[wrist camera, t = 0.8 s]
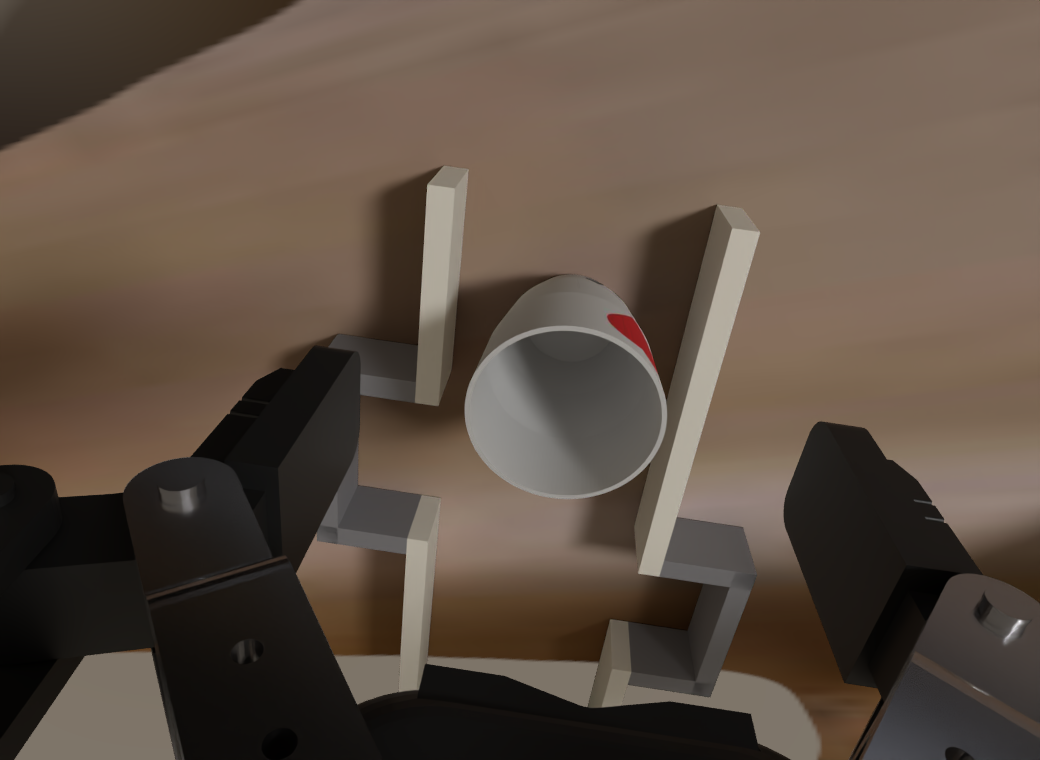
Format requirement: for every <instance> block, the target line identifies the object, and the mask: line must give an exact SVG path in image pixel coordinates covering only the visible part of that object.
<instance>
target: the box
mask: <svg viewBox="0 0 1040 760" xmlns="http://www.w3.org/2000/svg"><path fill="white" fill-rule="evenodd" d="M468 171H469V169H464V168H457V167H450V166H443V167H442V168H441V170H440V171H439V172H438V173H437V174H436V175H435V176H434V178H433V179H432V180H431V181H430V182H429V183H428V184H427V199H426V217H425V234H424V252H423V269H422V287H421V304H420V322H419V339H418V345H411V344H404V343H397V342H390V341H384V340H377V339H370V338H363V337H356V336H350V335H343V334H338V335H337V336H336V337H335V339H334V340H333V341H332V343H331V344H330V345H329V347H330V348H337V349H344V350H350V351H357V352H358V353H359V355H360V362H361V376H360V395H365V396H372V397H379V398H385V399H392V400H399V401H406V402H412V403H419V404H426V405H433V406H439V403H440V400H441V398H442V395H443V392H444V390H445V387H446V384H447V381H448V379H449V376H450V373H451V371H452V361H453V349H454V337H455V325H456V313H457V301H458V289H459V278H460V266H461V254H462V242H463V230H464V218H465V206H466V195H467V183H468ZM759 235H760V231H759V230H758V229H757V227H756V226H755V225H754V223H753V222H752V221H751V219H750V218H749V217H748V215H747V214H746V213H745V211H744V210H743V209H742V208H738V207H731V206H724V205H717V207H716V211H715V214H714V218H713V222H712V226H711V230H710V234H709V238H708V242H707V246H706V249H705V253H704V257H703V261H702V265H701V269H700V273H699V277H698V280H697V284H696V288H695V292H694V296H693V300H692V304H691V308H690V312H689V315H688V319H687V323H686V327H685V331H684V335H683V339H682V343H681V346H680V350H679V354H678V358H677V362H676V366H675V370H674V374H673V377H672V381H671V385H670V389H669V393H668V397H667V401H666V405H667V424H666V430H665V434H664V437H663V440H662V443H661V445H660V447H659V449H658V451H657V453H656V454H655V456H654V458H653V459H652V460H651V463H650V467H649V471H648V475H647V478H646V482H645V486H644V490H643V494H642V498H641V502H640V506H639V509H638V513H637V517H636V521H635V525H634V533H635V544H636V555H637V566H638V574H645V575H652V576H658V577H665V578H671V579H678V580H685V581H691V582H698V583H703V586H702V589H701V592H700V595H699V598H698V601H697V604H696V607H695V610H694V613H693V616H692V619H691V622H690V625H689V628H688V631H685V630H679V629H672V628H666V627H659V626H653V625H646V624H639V623H633V622H626V621H620V620H613V619H610V622H609V626H608V630H607V634H606V638H605V641H604V645H603V649H602V653H601V657H600V661H599V665H598V669H597V672H596V676H595V680H594V684H593V688H592V692H591V696H590V700H589V704H588V708H600V707H612V706H622V702H623V699H624V695H625V692H626V688H627V685H633V686H639V687H646V688H652V689H659V690H665V691H672V692H679V693H685V694H691V695H699V696H704V697H710V696H711V694H712V691H713V689H714V686H715V683H716V681H717V678H718V675H719V673H720V670H721V668H722V665H723V663H724V660H725V657H726V655H727V652H728V649H729V647H730V644H731V642H732V639H733V636H734V634H735V631H736V629H737V626H738V623H739V621H740V618H741V616H742V613H743V610H744V608H745V605H746V603H747V600H748V597H749V595H750V592H751V589H752V587H753V584H754V582H755V579H756V576H757V573H756V569H755V566H754V563H753V559H752V556H751V553H750V549H749V546H748V543H747V539H746V536H745V533H744V529H743V527H736V526H730V525H723V524H716V523H710V522H703V521H696V520H690V519H683V518H677V515H678V511H679V508H680V504H681V501H682V498H683V494H684V491H685V487H686V484H687V480H688V477H689V474H690V470H691V467H692V463H693V460H694V457H695V453H696V450H697V446H698V443H699V439H700V436H701V433H702V429H703V426H704V422H705V419H706V416H707V412H708V409H709V405H710V402H711V399H712V395H713V392H714V388H715V385H716V381H717V378H718V375H719V371H720V368H721V364H722V361H723V358H724V354H725V351H726V347H727V344H728V341H729V337H730V334H731V330H732V327H733V323H734V320H735V317H736V313H737V310H738V306H739V303H740V300H741V296H742V293H743V289H744V286H745V283H746V279H747V276H748V272H749V269H750V265H751V262H752V259H753V255H754V252H755V248H756V245H757V242H758V238H759ZM440 503H441V498H438V497H431V496H425V495H418V494H411V493H405V492H398V491H391V490H385V489H378V488H371V487H365V486H358V444H357V448H356V452H355V455H354V458H353V461H352V463H351V465H350V467H349V469H348V471H347V473H346V475H345V477H344V479H343V481H342V483H341V485H340V487H339V489H338V491H337V493H336V495H335V497H334V499H333V501H332V503H331V505H330V507H329V509H328V511H327V513H326V515H325V517H324V519H323V521H322V522H321V524H320V526H319V528H318V530H317V541H321V542H328V543H334V544H341V545H348V546H354V547H361V548H367V549H374V550H381V551H387V552H394V553H400V554H406V567H405V585H404V602H403V620H402V637H401V655H400V672H399V673H400V674H399V690H398V692H402V691H410V690H419V687H420V683H421V679H422V675H423V670H424V666H425V664H427V657H428V645H429V634H430V622H431V610H432V598H433V586H434V574H435V562H436V551H437V539H438V527H439V515H440Z"/></svg>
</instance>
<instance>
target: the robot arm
mask: <svg viewBox="0 0 1040 760" xmlns="http://www.w3.org/2000/svg"><path fill="white" fill-rule="evenodd" d="M360 376H361V362H360V355H359V353H358V352H357V351H350V350H344V349H337V348H330V347H324V346H314V347H313V348H312V349H311V350H310V351H309V353H308V354H307V355H306V357H305V358H304V359H303V360H302V362H301V363H300V364H299V365H298V367H297V368H296V369H295V370H290V369H284V368H280V369H278V370H276V371H274V372H272V373H270V374H268V375H266V376H264V377H262V378H260V379H258V380H257V381H256V382H255V383H254V384H253V385H252V386H251V387H250V389H249V390H248V391H247V392H246V393H245V394H244V396H243V397H242V401H240V400H239V401H238V402H237V404H236V405H235V406H234V407H233V408H232V409H231V411H230V414H227V415H226V416H225V418H224V419H223V420H222V421H221V422H220V423H219V424H218V426H217V427H216V428H215V429H214V430H213V431H212V433H211V434H210V435H209V436H208V437H207V438H206V440H205V441H204V442H203V443H202V444H201V445H200V447H199V448H198V449H197V450H196V451H195V452H194V453H193V455H192V456H191V457H186V458H178V459H172V460H168V461H164V462H161V463H158V464H155V465H153V466H151V467H149V468H147V469H145V470H143V471H142V472H140V473H138V474H137V475H136V476H135V477H134V478H132V479H131V481H130V482H129V483H128V484H127V486H126V488H125V489H124V492H123V493H116V494H104V495H88V496H73V497H58V494H57V490H56V486H55V482H54V480H53V478H52V476H51V475H49V474H48V473H47V472H45V471H43V470H42V469H39V468H36V467H32V466H26V465H1V466H0V760H14V759H15V757H16V756H17V754H18V753H19V752H20V750H21V749H22V747H23V746H24V744H25V743H26V741H27V740H28V738H29V737H30V735H31V734H32V732H33V731H34V730H35V728H36V727H37V725H38V724H39V722H40V721H41V719H42V718H43V716H44V715H45V714H46V712H47V711H48V709H49V707H50V706H51V705H52V703H53V702H54V700H55V699H56V697H57V696H58V694H59V693H60V692H61V690H62V689H63V687H64V686H65V684H66V683H67V681H68V680H69V678H70V677H71V675H72V674H73V672H74V671H75V669H76V668H77V667H78V665H79V664H80V662H81V661H82V659H83V658H84V656H86V655H95V654H103V653H111V652H120V651H128V650H136V649H144V648H151V652H152V656H153V661H154V665H155V670H156V674H157V679H158V683H159V688H160V692H161V697H162V701H163V706H164V710H165V715H166V719H167V724H168V728H169V733H170V737H171V742H172V746H173V751H174V755H175V760H790V759H788V758H787V757H785V756H783V755H781V754H779V753H777V752H775V751H773V750H771V749H769V748H767V747H765V746H763V745H760V744H758V743H757V739H756V734H755V730H754V726H753V722H752V717H751V714H748V713H742V712H735V711H729V710H722V709H716V708H709V707H703V706H696V705H690V704H683V703H676V702H660V703H648V704H636V705H624V706H612V707H600V708H588V707H583V706H580V705H577V704H575V703H572V702H569V701H567V700H564V699H562V698H559V697H557V696H554V695H552V694H549V693H546V692H544V691H541V690H539V689H536V688H534V687H531V686H529V685H526V684H524V683H521V682H518V681H516V680H513V679H511V678H508V677H506V676H501V675H495V674H488V673H482V672H475V671H468V670H462V669H456V668H449V667H442V666H436V665H429V664H425V666H424V670H423V675H422V679H421V683H420V687H419V690H410V691H402V692H397V693H392V694H388V695H383V696H380V697H377V698H374V699H371V700H368V701H365V702H363V703H360V704H358V705H357V703H356V701H355V699H354V697H353V695H352V693H351V691H350V688H349V686H348V684H347V682H346V680H345V678H344V676H343V673H342V671H341V669H340V667H339V665H338V663H337V661H336V659H335V656H334V654H333V652H332V650H331V648H330V646H329V643H328V641H327V639H326V637H325V635H324V633H323V631H322V628H321V626H320V624H319V622H318V620H317V618H316V616H315V614H314V611H313V609H312V607H311V605H310V603H309V601H308V599H307V596H306V594H305V592H304V590H303V588H302V586H301V584H300V581H299V579H298V577H297V575H296V572H297V570H298V568H299V566H300V564H301V562H302V560H303V558H304V556H305V554H306V552H307V550H308V548H309V546H310V544H311V542H312V540H313V538H314V536H315V534H316V532H317V530H318V528H319V526H320V524H321V522H322V521H323V519H324V517H325V515H326V513H327V511H328V509H329V507H330V505H331V503H332V501H333V499H334V497H335V495H336V493H337V491H338V489H339V487H340V485H341V483H342V481H343V479H344V477H345V475H346V473H347V471H348V469H349V467H350V465H351V463H352V461H353V458H354V455H355V452H356V448H357V444H358V438H359V429H360ZM784 523H785V528H786V531H787V533H788V536H789V538H790V541H791V544H792V546H793V549H794V552H795V554H796V557H797V559H798V562H799V565H800V567H801V570H802V573H803V575H804V578H805V580H806V583H807V586H808V588H809V591H810V594H811V596H812V599H813V601H814V604H815V607H816V609H817V612H818V615H819V617H820V620H821V622H822V625H823V628H824V630H825V633H826V636H827V638H828V641H829V644H830V646H831V649H832V651H833V654H834V657H835V659H836V662H837V665H838V667H839V670H840V672H841V675H842V678H843V680H844V683H847V684H854V685H860V686H867V687H873V688H878V690H879V692H880V695H881V699H880V701H879V702H878V704H877V706H876V708H875V709H874V711H873V713H872V715H871V717H870V719H869V721H868V723H867V725H866V727H865V728H864V730H863V732H862V734H861V736H860V738H859V740H858V742H857V744H856V746H855V748H854V750H853V752H852V754H851V756H850V758H849V760H1040V603H1038V602H1037V601H1036V600H1034V599H1033V598H1032V597H1030V596H1029V595H1027V594H1026V593H1024V592H1023V591H1021V590H1019V589H1017V588H1015V587H1013V586H1011V585H1009V584H1007V583H1005V582H1003V581H1000V580H997V579H994V578H991V577H988V576H984V575H983V574H982V573H981V571H980V570H979V569H978V567H977V566H976V564H975V563H974V561H973V560H972V558H971V557H970V556H969V554H968V553H967V551H966V550H965V548H964V547H963V545H962V544H961V543H960V541H959V540H958V538H957V537H956V535H955V534H954V532H953V531H952V530H951V528H950V527H949V525H948V524H947V523H944V518H943V517H942V515H941V514H940V512H939V511H938V509H937V508H936V507H935V506H933V505H932V501H931V499H930V498H929V496H928V495H927V494H926V492H925V491H924V489H923V488H922V486H921V485H920V483H919V482H918V481H917V480H916V479H915V478H914V477H913V476H911V475H910V474H909V473H908V472H906V471H905V470H904V469H903V468H901V467H900V466H899V465H898V464H896V463H895V462H894V461H893V460H887V459H886V457H885V456H884V454H883V453H882V451H881V450H880V448H879V447H878V445H877V444H876V442H875V441H874V439H873V438H872V436H871V435H870V433H869V432H868V430H866V429H865V428H862V427H855V426H848V425H842V424H835V423H828V422H818V423H816V424H815V425H814V427H813V428H812V430H811V432H810V434H809V436H808V439H807V441H806V444H805V447H804V449H803V452H802V454H801V457H800V460H799V462H798V465H797V467H796V470H795V472H794V475H793V478H792V480H791V483H790V485H789V488H788V491H787V494H786V497H785V502H784Z"/></svg>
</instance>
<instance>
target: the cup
mask: <svg viewBox="0 0 1040 760" xmlns="http://www.w3.org/2000/svg"><path fill="white" fill-rule="evenodd" d="M465 421H466V427H467V431H468V434H469V437H470V439H471V442H472V444H473V446H474V448H475V450H476V451H477V453H478V454H479V456H480V457H481V459H482V460H483V461H484V462H485V463H486V465H487V466H488V467H489V468H490V469H491V470H492V471H494V472H495V473H496V474H497V475H498V476H500V477H501V478H502V479H504V480H505V481H507V482H508V483H510V484H512V485H514V486H515V487H517V488H520V489H522V490H524V491H527V492H530V493H532V494H536V495H539V496H544V497H549V498H557V499H580V498H587V497H593V496H597V495H601V494H604V493H607V492H609V491H612V490H614V489H616V488H618V487H620V486H622V485H624V484H626V483H627V482H629V481H630V480H632V479H633V478H634V477H636V476H637V475H638V474H639V473H640V472H641V471H643V470H644V469H645V468H646V466H647V465H648V464H649V463H650V462H651V460H652V459H653V458H654V456H655V454H656V453H657V451H658V449H659V447H660V445H661V443H662V440H663V437H664V434H665V430H666V424H667V405H666V399H665V395H664V391H663V388H662V385H661V382H660V378H659V375H658V372H657V369H656V366H655V363H654V359H653V356H652V353H651V350H650V347H649V344H648V341H647V339H646V337H645V335H644V333H643V332H642V330H641V329H640V327H639V325H638V324H637V322H636V321H635V319H634V317H633V316H632V314H631V312H630V311H629V309H628V308H627V306H626V305H625V303H624V302H623V301H622V300H621V299H620V297H619V296H617V295H616V294H615V293H614V292H613V291H611V290H610V289H609V288H607V287H605V286H604V285H602V284H600V283H599V282H597V281H595V280H594V279H591V278H589V277H586V276H582V275H576V274H566V275H560V276H556V277H553V278H550V279H548V280H546V281H544V282H542V283H540V284H538V285H536V286H534V287H532V288H531V289H529V290H528V291H527V292H525V293H524V294H523V295H522V296H521V297H520V298H519V299H518V300H517V302H516V303H515V304H514V305H513V307H512V308H511V309H510V310H509V312H508V313H507V314H506V315H505V317H504V318H503V319H502V320H501V322H500V323H499V324H498V326H497V327H496V328H495V330H494V332H493V333H492V335H491V337H490V339H489V342H488V344H487V346H486V348H485V351H484V353H483V355H482V357H481V359H480V362H479V364H478V366H477V368H476V370H475V373H474V375H473V377H472V379H471V381H470V384H469V387H468V390H467V394H466V399H465Z"/></svg>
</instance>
